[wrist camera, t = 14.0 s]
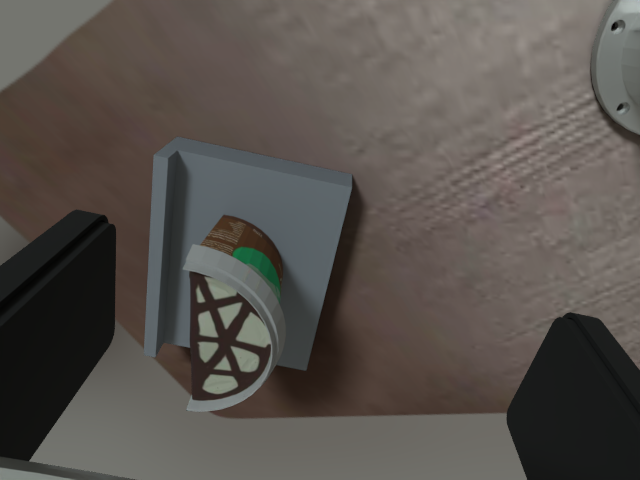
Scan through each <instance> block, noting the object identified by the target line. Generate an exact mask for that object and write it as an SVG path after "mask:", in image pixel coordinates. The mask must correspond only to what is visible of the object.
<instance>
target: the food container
mask: <svg viewBox="0 0 640 480" xmlns="http://www.w3.org/2000/svg"><path fill="white" fill-rule="evenodd" d="M183 270H188V271H189V278H190V353H191V372H192V395H191V398H190V401H189V404H188V406H187V409H186V411H197V412H199V411H213V410H218V409H223V408H226V407H230V406H233V405H235V404H237V403H239V402H241V401H243V400H245V399H246V398H248V397H249V396H250V395H252V394H253V393H254V392H255V391H256V390H257V389H258V388H259V387H260V386H261V385H262V384H263V383H264V382H265V381H266V380H267V378H268V377H269V375H270V374H271V372H272V371H273V369H274V367H275V365H276V364H277V362H278V360H279V358H280V356H281V353H282V351H283V348H284V343H285V338H286V325H285V320H284V315H283V311H282V309H281V306H280V297H281V288H282V279H283V264H282V259H281V256H280V254H279V251H278V249H277V247H276V246H275V244H274V243H273V241H272V240H271V239H270V238H269V237H268V235H266V234H265V233H264V232H263V231H262V230H261V229H259V228H258V227H256V226H255V225H253V224H252V223H250V222H248V221H245V220H243V219H240V218H237V217H234V216H229V215H224V214H223V216H222V217H221V218H220V220H219V221H218V222H217V223H216V225H215V226H214V227H213V229H212V230H211V231H210V232H209V234H208V235H207V236H206V238H205V239H204V240H203V241H202V243H201V244H200V245H195V244H193V245H192V247H191V249H190V251H189V254H188V256H187V258H186V263H185V265H184V267H183Z"/></svg>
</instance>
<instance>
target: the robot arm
mask: <svg viewBox="0 0 640 480" xmlns="http://www.w3.org/2000/svg"><path fill="white" fill-rule="evenodd" d="M613 23H615V28H614V29H613V30H611V27H612V24H613ZM591 75H592V84H593V87H594V90H595V94H596V97H597V99H598V101H599V103H600V104H601V106H602V108H603V109H604V111H605V112H606V113H607V114H608V115H609V116H610V117H611V118H612V119H613V120H614V121H615V122H616V123H617V124H619V125H621V126H622V127H624V128H626V129H627V130H629V131H631V132H634V133H636V134H639V135H640V0H613V2H612V3H611V5H610V6H609V8H608V9H607V11H606V13H605V15H604V18H603V20H602V22H601V24H600V26H599V28H598V31H597V35H596V38H595V41H594V45H593V50H592V59H591ZM619 104H620V107H619V109H617V107H618V106H619ZM115 269H116V228H115V226H114V225H113V224H109V223H108V219H107V217H106V216H105V215H100V214H96V213H91V212H86V211H81V210H74V211H72V212H71V213H69V214H68V215H67V216H65V217H64V218H63V219H61V220H60V221H59V222H58V223H56V224H55V225H54V226H52V227H51V228H50V229H48V230H47V231H46V232H44V233H43V234H42V235H40V236H39V237H38V238H36V239H35V240H34V241H32V242H31V243H30V244H28V245H27V246H26V247H25V248H23V249H22V250H21V251H19V252H18V253H17V254H15V255H14V256H13V257H11V258H10V259H9V260H7V261H6V262H5V263H3V264H2V265H1V266H0V480H135V479H129V478H124V477H118V476H112V475H107V474H102V473H96V472H90V471H84V470H78V469H72V468H66V467H60V466H53V465H48V464H42V463H36V462H29V460H30V459H31V457H32V456H33V454H34V453H35V452H36V450H37V449H38V447H39V446H40V444H41V443H42V442H43V440H44V439H45V437H46V436H47V434H48V433H49V431H50V430H51V429H52V427H53V426H54V424H55V423H56V422H57V420H58V419H59V417H60V416H61V414H62V413H63V411H64V410H65V409H66V407H67V406H68V404H69V403H70V401H71V400H72V399H73V397H74V396H75V394H76V393H77V392H78V390H79V389H80V387H81V386H82V384H83V383H84V381H85V380H86V379H87V377H88V376H89V374H90V373H91V372H92V370H93V369H94V367H95V366H96V364H97V363H98V361H99V360H100V359H101V357H102V356H103V354H104V353H105V352H106V350H107V349H108V347H109V345H110V343H111V341H112V339H113V336H114V329H115ZM507 425H508V428H509V431H510V433H511V436H512V439H513V442H514V444H515V447H516V450H517V452H518V455H519V458H520V461H521V464H522V466H523V469H524V472H525V474H526V477H527V480H640V370H639V369H638V368H637V366H636V365H635V364H634V362H633V361H632V360H631V359H630V357H629V356H628V355H627V353H626V352H625V351H624V350H623V348H622V347H621V346H620V344H619V343H618V342H617V341H616V339H615V338H614V337H613V335H612V334H611V333H610V332H609V330H608V329H607V328H606V326H605V325H604V324H603V323H602V321H601V320H599V319H598V318H595V317H590V316H585V315H580V314H575V313H571V312H570V313H567V314H565V315H564V316H563V317H559V318H557V319H555V320H554V322H553V323H552V325H551V327H550V329H549V331H548V333H547V335H546V337H545V339H544V341H543V343H542V344H541V346H540V348H539V350H538V352H537V354H536V356H535V358H534V360H533V362H532V364H531V366H530V367H529V369H528V371H527V373H526V375H525V377H524V379H523V381H522V383H521V385H520V387H519V388H518V390H517V392H516V394H515V396H514V398H513V400H512V402H511V404H510V406H509V408H508V411H507Z"/></svg>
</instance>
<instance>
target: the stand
mask: <svg viewBox="0 0 640 480" xmlns="http://www.w3.org/2000/svg"><path fill="white" fill-rule="evenodd" d="M351 190H352V174H348V173H343V172H339V171H334V170H329V169H325V168H320V167H316V166H311V165H306V164H302V163H297V162H292V161H288V160H283V159H278V158H274V157H269V156H265V155H260V154H255V153H251V152H246V151H241V150H237V149H232V148H228V147H223V146H218V145H214V144H209V143H204V142H200V141H195V140H191V139H186V138H181V137H176V138H175V139H174V140H172V141H171V142H170V143H168V144H167V145H166V146H165V147H163V148H162V149H161V150H160V151H158V152H157V153H156V154H154V161H153V181H152V202H151V222H150V242H149V262H148V283H147V303H146V323H145V343H144V355H147V356H151V357H156V356H157V354H158V352H159V350H160V348H161V346H162V345H163V343H168V344H173V345H178V346H183V347H189V348H190V278H189V271H188V270H183V267H184V265H185V263H186V258H187V256H188V254H189V251H190V249H191V247H192V245H193V244H195V245H200V244H201V243H202V241H203V240H204V239H205V238H206V236H207V235H208V234H209V232H210V231H211V230H212V229H213V227H214V226H215V225H216V223H217V222H218V221H219V220H220V218H221V217H222V216H223V214H224V215H229V216H234V217H237V218H240V219H243V220H245V221H248V222H250V223H252V224H253V225H255V226H256V227H258V228H259V229H261V230H262V231H263V232H264V233H265V234H266V235H268V237H269V238H270V239H271V240H272V241H273V243H274V244H275V246H276V247H277V249H278V251H279V254H280V256H281V259H282V264H283V279H282V288H281V297H280V306H281V309H282V311H283V315H284V320H285V325H286V338H285V343H284V348H283V351H282V353H281V356H280V358H279V360H278V362H277V364H276V365H279V366H284V367H289V368H294V369H299V370H304V371H306V370H307V366H308V362H309V358H310V354H311V350H312V346H313V342H314V338H315V334H316V330H317V326H318V322H319V318H320V314H321V310H322V306H323V302H324V298H325V294H326V290H327V286H328V282H329V278H330V274H331V270H332V266H333V262H334V258H335V254H336V250H337V246H338V242H339V238H340V234H341V230H342V226H343V222H344V218H345V214H346V210H347V206H348V202H349V198H350V194H351Z"/></svg>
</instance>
